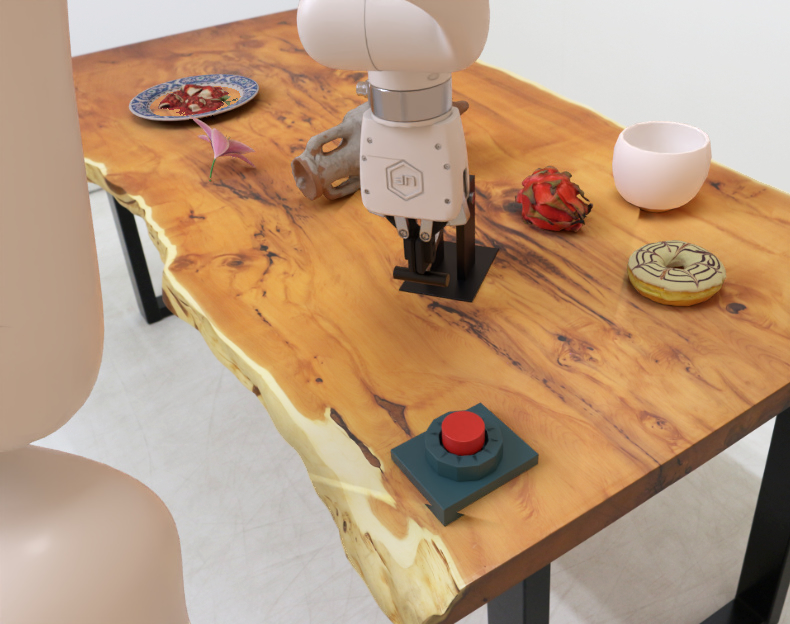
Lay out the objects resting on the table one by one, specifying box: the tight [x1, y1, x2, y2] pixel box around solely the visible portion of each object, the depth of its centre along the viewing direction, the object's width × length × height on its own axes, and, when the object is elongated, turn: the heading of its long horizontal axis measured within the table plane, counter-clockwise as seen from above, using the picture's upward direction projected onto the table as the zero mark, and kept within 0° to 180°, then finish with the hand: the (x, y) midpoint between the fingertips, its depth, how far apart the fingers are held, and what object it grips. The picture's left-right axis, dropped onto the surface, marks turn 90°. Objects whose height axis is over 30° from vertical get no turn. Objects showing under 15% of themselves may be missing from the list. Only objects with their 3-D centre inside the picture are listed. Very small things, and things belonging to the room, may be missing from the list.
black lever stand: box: [398, 174, 500, 304], centre depth 84 cm, size 12×9×13 cm
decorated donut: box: [626, 239, 728, 307], centre depth 82 cm, size 10×11×4 cm
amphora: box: [290, 99, 470, 201], centre depth 107 cm, size 14×16×30 cm
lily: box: [188, 115, 257, 182], centre depth 115 cm, size 12×12×10 cm
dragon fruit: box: [514, 165, 594, 233], centre depth 93 cm, size 8×8×12 cm
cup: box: [611, 120, 713, 213], centre depth 96 cm, size 12×12×10 cm
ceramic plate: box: [128, 73, 260, 122], centre depth 143 cm, size 26×26×3 cm
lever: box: [392, 227, 450, 287], centre depth 79 cm, size 13×6×2 cm, turn 159°
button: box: [442, 410, 485, 456], centre depth 60 cm, size 4×4×2 cm
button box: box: [390, 402, 540, 527], centre depth 62 cm, size 10×8×4 cm
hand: (420, 265), depth 76 cm, fingers closed
